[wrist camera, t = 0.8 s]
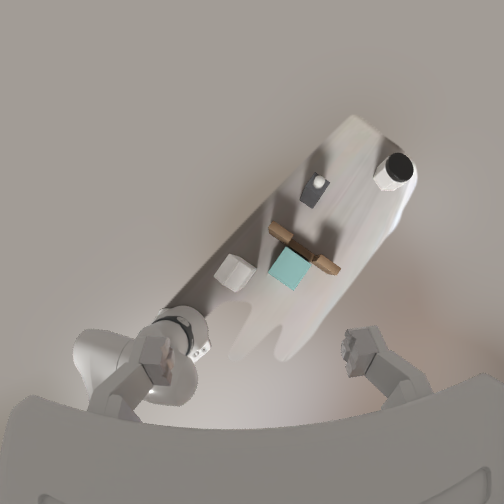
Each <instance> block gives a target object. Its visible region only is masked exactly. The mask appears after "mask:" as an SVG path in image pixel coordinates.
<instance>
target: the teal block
mask: <svg viewBox="0 0 504 504" xmlns="http://www.w3.org/2000/svg"><path fill="white" fill-rule="evenodd" d="M310 266H311V264H310V263H309V262H307V261H306V260H304V259H303V258H302V257H300V256H299V255H297V254H296V253H294V252H293V251H292V250H290V249H289V248H287V247H285V249H284V250H283V251H282V253H281V254H280V256H279V257H278V259H277V260H276V262H275V263H274V264H273V266H272V267H271V269H270V270H269V272H268V273H269V274H270V275H272V276H273V277H275V278H276V279H277V280H279V281H280V282H282V283H283V284H285V285H286V286H288V287H289V288H290V289H292V290H293V291H294V289H295V288H296V287H297V285H298V284H299V282H300V281H301V279H302V278H303V277H304V275H305V274H306V272H307V271H308V269H309V268H310Z"/></svg>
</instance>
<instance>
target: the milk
mask: <svg viewBox="0 0 504 504" xmlns="http://www.w3.org/2000/svg"><path fill="white" fill-rule="evenodd" d="M256 270H257V268H255V267H254V266H252V265H251V264H250V263H248V262H247V261H245V260H244V259H242V258H241V257H239V256H236V255H232V254H228V256H227V257H226V259H225V260H224V262H223V263H222V264H221V266H220V267H219V269H218V270H217V272H216V273H215V274H214V277H215V278H216V279H217V280H218V281H219V282H220V283H221V284H222V285H224V286H225V287H227V288H229V289H230V290H232V291H234V292H237V291H239V290H240V289H241V288H243V287H244V286H245V285H246V284H247V282H248V281H249V279H250V278H251V277H252V275H253V274H254V272H255V271H256Z"/></svg>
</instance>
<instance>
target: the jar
mask: <svg viewBox="0 0 504 504" xmlns="http://www.w3.org/2000/svg"><path fill="white" fill-rule="evenodd" d="M412 175H413V165H412V162H411V161H410V159H409V158H408V157H407V156H406V155H404V154H402V153H394V154H392V155H391V156H388V157H387V158H386V159H385V160H384V161H383V162H382V163H381V164H380V165H379V166H378V167H377V169H376V172H375V174H374V177H373V179H374V180H375V182H376V183H377V185H378V186H379V188H380V189H381V191H394V190H396V189H397V188H399V187H401V186H402V185H404V184H405V183H407V180H409V179H410V178H411V177H412Z"/></svg>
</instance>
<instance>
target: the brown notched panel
mask: <svg viewBox="0 0 504 504" xmlns="http://www.w3.org/2000/svg"><path fill="white" fill-rule="evenodd" d="M268 229H269V233H270V234H271V235H272V236H274V237H275V238H277V239H278V240H280V241H281V242H283V243H284V244H285V245H287V246H288V247H290V248H291V249H293V250H294V251H295V252H297V253H298V254H300V255H301V256H303V257H304V258H305V259H307V260H308V261H310V262H311V263H313V264H314V265H315V266H317V267H318V268H320V269H321V270H322V271H324V272H325V273H327V274H331V275H337V274H338V273H339V271H340V270H341V268H340V267H339V266H337V265H336V264H334V263H333V262H332V261H330V260H329V259H327V258H326V257H325V256H323V255H322V254H320V255H314V254H313V253H312V252H310V251H309V250H307V249H306V248H305V247H303V246H302V245H300V244H299V243H297V242H296V241H295V240H293V239H292V237H293V235H294V234H292V233H291V232H289V231H288V230H286V229H285V228H283V227H282V226H280V225H279V224H278V223H276V222H275V221H272V223H271V224H270V226H269V227H268Z"/></svg>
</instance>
